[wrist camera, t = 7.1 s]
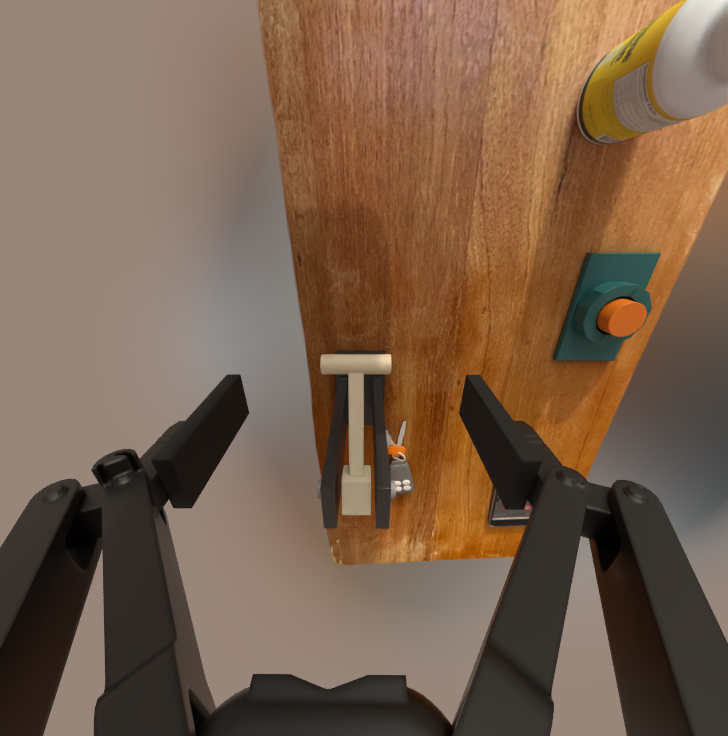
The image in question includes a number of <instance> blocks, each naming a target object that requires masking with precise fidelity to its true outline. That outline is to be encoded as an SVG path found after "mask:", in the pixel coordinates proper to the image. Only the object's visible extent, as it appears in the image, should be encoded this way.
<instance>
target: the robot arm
mask: <svg viewBox="0 0 728 736" xmlns="http://www.w3.org/2000/svg"><path fill="white" fill-rule="evenodd" d="M248 414H249V410H248V406H247V402H246V397H245V393H244V389H243V384H242V380H241V376H240V375H226V376H225V378H224V379H223V380H222V381H221V382H220V383H219V384H218V386H216V388H215V389H214V390H213V391H212V392H211V393H210V394H209V395H208V396H207V398H206V399H205V400H204V401H203V402H202V403H201V404H200V405H199V407H198V408H197V409H196V410H195V411H194V412H193V413H192V414H191V415H190V417H189V418H188V419H187V420H186V421H179V422H177V423H176V424H174V425H173V426H171V427H170V428H168V429H167V431H166V432H165V433H164V434H163V435H162V437H160V438H159V439H158V440H157V441H156V443H155V444H153V446H152V447H150V449H148V451H147V452H146V453H145V454H144V455H143V456H142V457H141V458H140V459H139V457H138V456H137V453H136V452H135V451H134V450H131V449H122V450H118V451H115V452H112V453H110V454H108V455H106V456H104V457H103V458H101V459H100V460H98V461H97V462H96V464H95V465H93V468H92V472H93V474H94V475H95V477H96V479H97V480H98V482H99V483H98V484H93V485H89V486H85V487H82V486H81V485H80V483H79V482H78V481H77V480H76V479H66V480H61V481H58V482H56V483H53V484H51V485H49V486H47V487H45V488H43V489H42V490H41V491H39V492H38V493H37V494H36V495H35V496H34V497H33V498H32V499H31V500H30V502H29V503H28V505H27V506H26V508H25V509H24V511H23V513H22V514H21V516H20V517H19V519H18V521H17V522H16V524H15V525H14V527H13V529H12V530H11V532H10V533H9V535H8V536H7V538H6V540H5V541H4V543H3V544H2V546H1V548H0V736H43V734H44V731H45V727H46V724H47V721H48V718H49V715H50V712H51V708H52V705H53V702H54V699H55V696H56V693H57V689H58V686H59V683H60V680H61V677H62V673H63V671H64V667H65V664H66V661H67V658H68V655H69V652H70V649H71V645H72V642H73V639H74V636H75V633H76V630H77V627H78V623H79V620H80V617H81V614H82V611H83V608H84V604H85V601H86V598H87V595H88V592H89V589H90V585H91V582H92V579H93V576H94V573H95V570H96V567H97V563H98V560H99V557H100V554H101V551H102V548H103V590H104V635H105V636H104V637H105V690H104V693H103V694H102V695H101V696H100V697H99V698H98V700H97V703H96V706H95V714H94V736H550V733H551V727H552V720H553V712H554V703H553V700H552V698H551V691H552V684H553V679H554V674H555V669H556V663H557V658H558V652H559V647H560V642H561V637H562V631H563V626H564V620H565V615H566V610H567V605H568V599H569V594H570V588H571V583H572V578H573V573H574V567H575V562H576V557H577V552H578V546H579V541H580V536H583V537H586V538H589V542H590V547H591V552H592V557H593V563H594V567H595V573H596V578H597V583H598V588H599V594H600V598H601V604H602V609H603V614H604V619H605V625H606V629H607V634H608V640H609V645H610V650H611V655H612V661H613V666H614V671H615V676H616V681H617V687H618V692H619V697H620V702H621V707H622V713H623V718H624V722H625V728H626V733H627V736H728V643H727V641H726V639H725V637H724V635H723V632H722V630H721V628H720V626H719V624H718V622H717V620H716V618H715V616H714V614H713V611H712V609H711V607H710V605H709V603H708V601H707V599H706V597H705V594H704V593H703V590H702V588H701V586H700V584H699V582H698V580H697V578H696V576H695V573H694V571H693V569H692V567H691V565H690V563H689V561H688V559H687V556H686V554H685V552H684V550H683V548H682V546H681V544H680V542H679V540H678V537H677V535H676V533H675V531H674V529H673V527H672V525H671V523H670V521H669V519H668V516H667V514H666V512H665V510H664V508H663V506H662V504H661V502H660V501H659V499H658V498H657V496H656V495H654V494H653V493H652V492H651V491H650V490H648V489H647V488H645V487H643V486H642V485H640V484H636V483H634V482H632V481H627V480H617V481H616V482H615V483H613V485H612V487H611V488H609V487H605V486H601V485H596V484H592V483H589V482H588V481H587V480H586V479H585V477H583V476H582V475H581V474H580V473H579V472H577V471H575V470H573V469H571V468H568V467H565V466H563V465H562V464H561V463H560V462H559V460H558V459H557V458H556V457H555V455H554V454H553V453H552V452H551V450H550V449H549V448H548V447H547V445H546V444H544V442H543V440H542V439H541V438H540V437H539V435H538V434H537V433H536V432H535V430H534V429H533V428H532V427H530V426H529V425H528V424H526V423H525V422H523V421H513V420H512V418H511V417H510V416H509V414H508V413H507V412H506V410H505V409H504V407H503V406H502V405H501V403H500V402H499V401H498V399H497V398H496V397H495V395H494V394H493V392H492V391H491V390H490V388H489V387H488V386H487V384H486V383H485V381H484V380H483V379H482V377H481V376H480V375H466V379H465V385H464V390H463V396H462V401H461V406H460V412H459V414H460V416H461V418H462V421H463V423H464V425H465V427H466V429H467V431H468V433H469V435H470V437H471V439H472V441H473V443H474V446H475V448H476V450H477V452H478V454H479V456H480V458H481V460H482V462H483V464H484V466H485V468H486V471H487V473H488V475H489V477H490V479H491V481H492V483H493V485H494V487H495V489H496V491H497V493H498V496H499V498H500V500H501V502H502V504H503V506H504V508H505V510H524V508H525V505H526V502H527V500H528V501H529V503H530V505H531V507H532V508H533V509H532V512H531V514H530V517H529V519H528V522H527V524H526V528H525V530H524V533H523V536H522V539H521V541H520V544H519V547H518V549H517V552H516V555H515V557H514V560H513V563H512V565H511V568H510V571H509V574H508V576H507V579H506V582H505V584H504V587H503V590H502V592H501V596H500V598H499V601H498V603H497V606H496V609H495V611H494V614H493V617H492V619H491V622H490V625H489V628H488V630H487V633H486V635H485V638H484V641H483V644H482V646H481V649H480V652H479V654H478V657H477V660H476V662H475V665H474V668H473V671H472V673H471V676H470V679H469V682H468V684H467V686H466V689H465V692H464V694H463V697H462V699H461V702H460V704H459V707H458V710H457V712H456V715H455V718H454V720H453V723H452V725H451V723H450V722H449V721H448V719H447V718H446V717H445V716H444V714H443V713H442V712H441V711H440V710H439V709H438V708H437V707H436V706H435V705H434V704H433V703H432V702H431V701H430V700H429V699H427V698H426V697H425V696H424V695H422V694H420V693H419V692H417V691H415V690H413V689H411V688H408V687H407V686H406V676H405V675H367V676H364V677H362V678H359V679H356V680H353V681H351V682H348V683H345V684H343V685H340V686H337V687H335V688H332V689H324V688H322V687H320V686H317V685H315V684H312V683H310V682H307V681H305V680H303V679H300V678H298V677H295V676H293V675H291V674H253V676H252V681H251V684H250V687H248V688H245V689H243V690H242V691H240V692H238V693H236V694H234V695H233V696H232V697H230V698H229V699H227V700H226V701H224V702H223V703H222V704H221V705H220V706H219V707H218V708H216V707H215V704H214V701H213V698H212V695H211V692H210V690H209V687H208V685H207V682H206V678H205V674H204V671H203V666H202V662H201V658H200V653H199V649H198V645H197V641H196V637H195V633H194V628H193V625H192V620H191V616H190V612H189V608H188V603H187V600H186V595H185V591H184V587H183V583H182V579H181V574H180V570H179V566H178V562H177V558H176V553H175V549H174V545H173V541H172V537H171V532H170V528H169V524H168V520H167V516H166V512H165V510H164V508H163V507H164V505H165V504H166V502H167V501H168V500H170V502H171V504H172V506H173V508H192V507H193V505H194V504H195V502H196V500H197V499H198V497H199V495H200V494H201V492H202V490H203V489H204V487H205V485H206V484H207V482H208V480H209V479H210V477H211V475H212V474H213V472H214V470H215V469H216V467H217V466H218V464H219V462H220V460H221V459H222V457H223V456H224V454H225V452H226V451H227V449H228V447H229V446H230V444H231V442H232V441H233V439H234V437H235V436H236V434H237V432H238V431H239V429H240V428H241V426H242V424H243V423H244V421H245V419H246V418H247V416H248Z"/></svg>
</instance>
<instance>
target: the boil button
mask: <svg viewBox="0 0 728 736" xmlns="http://www.w3.org/2000/svg"><path fill="white" fill-rule="evenodd" d="M646 316H647V310H646V308H645V306H644V305H642V304H641V303H638V302H634V301H631V300H627V299H622V298H621V299H615V300H612V301H610V302H609V303H607V304H606V305H605V306H604V307H603V308H602V309H601V310H600V311H599V313H598V315H597V319H596V322H597V326H598V327H599V329H601V330H602V331H604V332H607V333H609V334H611V335H613V336H617V337H624V336H628V335H630V334H632V333H634V332H636V331H637V330H638V329H639V328H640V327H641V326H642V325H643V323H644V322H645V320H646Z"/></svg>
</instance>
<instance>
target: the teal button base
mask: <svg viewBox="0 0 728 736" xmlns="http://www.w3.org/2000/svg"><path fill="white" fill-rule="evenodd" d="M660 255H661V254H660V253H587V255H586V258H585V262H584V265H583V268H582V271H581V274H580V277H579V280H578V283H577V286H576V289H575V292H574V295H573V298H572V302H571V305H570V308H569V311H568V314H567V317H566V320H565V323H564V326H563V329H562V332H561V335H560V338H559V342H558V345H557V348H556V351H555V354H554V357H553V359H555V360H556V361H614V360H615V358H616V356H617V354H618V351H619V349H620V347H621V345H622V342H623V340H626V339H628V338H630V337H631V336H632V335H633V334H634V333H636V332H637V331H638V330H639V329H640V328H641V327H642V326H643V325H644V324H645V322H646V320H645V322H644V323H643V325H642V326H641V327H640V328H639V329H638V330H637V331H636V332H634V333H632V334H630V335H628V336H624V337H617V336H613V335H611V334H609V333H607V332H604V331H602V330H601V329H599V327H598V326H597V322H596V319H597V315H598V313H599V311H600V310H601V309H602V308H603V307H604V306H605V305H606V304H607V303H609V302H610V301H612V300H615V299H621V298H622V299H627V300H631V301H634V302H638V303H641V304H642V305H644V306H645V308H646V310H647V316H646V319H647V317H648V315H649V313H650V311H651V308H652V307H651V300H650V293H649V292H647V291H646V290H645V289H646V287H647V285H648V282H649V280H650V278H651V275H652V273H653V271H654V268H655V266H656V264H657V261H658V259H659V257H660Z"/></svg>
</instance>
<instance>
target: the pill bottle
mask: <svg viewBox="0 0 728 736" xmlns="http://www.w3.org/2000/svg"><path fill="white" fill-rule="evenodd" d="M727 103H728V0H682V1H680V2H679V3H677V4H676V5H675V6H673V7H672V8H670V9H669V10H668V11H666V12H665V13H663V14H662V15H661V16H659V17H658V18H656V19H655V20H654V21H652V22H651V23H649V24H648V25H647V26H645V27H644V28H642V29H641V30H640V31H638V32H637V33H635V34H634V35H632V36H631V37H630V38H628V39H627V40H625V41H624V42H623V43H621V44H620V45H618V46H617V47H616V48H614V49H613V50H611V51H610V52H609V53H608V54H607V55H605V56H604V57H603V58H602V59H601V60H600V61H599V62H598V63H597V65H596V66H595V67H594V68H593V70H592V71H591V73H590V74H589V76H588V77H587V79H586V81H585V83H584V85H583V87H582V90H581V92H580V96H579V99H578V104H577V122H578V126H579V129H580V131H581V133H582V134H583V136H584V137H585V138H586V139H588V140H589V141H590V142H593V143H595V144H600V145H609V144H614V143H617V142H621V141H624V140H626V139H629V138H632V137H635V136H639V135H642V134H645V133H648V132H651V131H654V130H657V129H660V128H664V127H667V126H670V125H673V124H676V123H679V122H683V121H686V120H689V119H692V118H695V117H698V116H701V115H704V114H707V113H709V112H712V111H714V110H716V109H718V108H720V107H722V106H724V105H725V104H727Z"/></svg>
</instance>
